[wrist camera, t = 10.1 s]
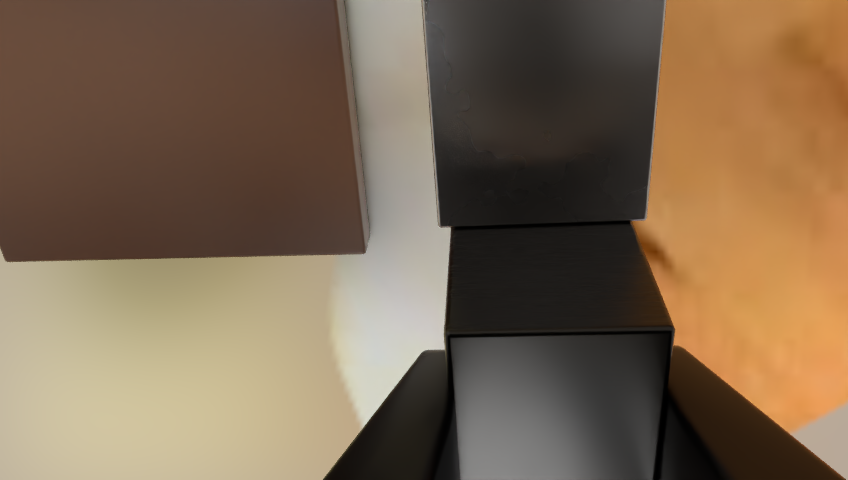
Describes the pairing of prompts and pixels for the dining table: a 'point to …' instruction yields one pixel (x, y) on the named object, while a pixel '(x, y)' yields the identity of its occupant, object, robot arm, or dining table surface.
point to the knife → (549, 234)
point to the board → (178, 130)
